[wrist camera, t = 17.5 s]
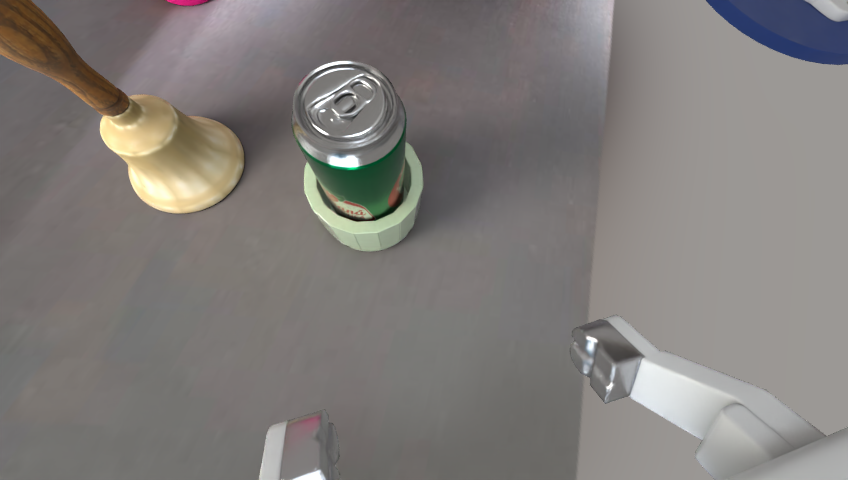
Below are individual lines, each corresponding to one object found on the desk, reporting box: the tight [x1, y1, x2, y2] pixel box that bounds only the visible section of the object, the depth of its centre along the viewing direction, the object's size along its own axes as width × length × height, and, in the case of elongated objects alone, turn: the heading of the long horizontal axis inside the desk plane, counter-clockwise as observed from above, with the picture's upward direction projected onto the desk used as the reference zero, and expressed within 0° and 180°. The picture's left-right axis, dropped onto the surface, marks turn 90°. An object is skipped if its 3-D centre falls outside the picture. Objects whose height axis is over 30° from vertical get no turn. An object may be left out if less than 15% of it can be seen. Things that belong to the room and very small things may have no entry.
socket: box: [304, 142, 423, 251], centre depth 23 cm, size 8×8×5 cm
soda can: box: [291, 60, 406, 222], centre depth 19 cm, size 5×5×12 cm
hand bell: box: [0, 0, 244, 213], centre depth 17 cm, size 8×8×16 cm
